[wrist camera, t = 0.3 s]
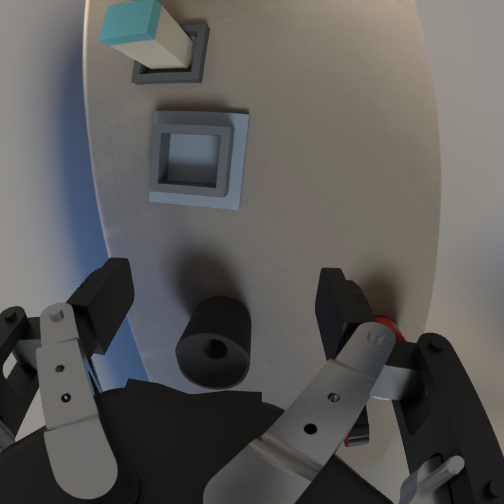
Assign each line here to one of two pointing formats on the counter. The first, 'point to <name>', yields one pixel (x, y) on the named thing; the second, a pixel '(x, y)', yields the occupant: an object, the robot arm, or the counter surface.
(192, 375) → the pen holder
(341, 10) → the counter surface
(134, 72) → the gray square frame
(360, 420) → the logo sign
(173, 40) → the plug
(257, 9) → the counter surface
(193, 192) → the port
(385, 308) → the counter surface
